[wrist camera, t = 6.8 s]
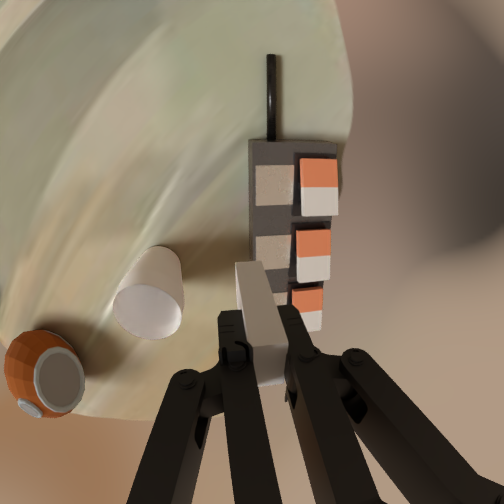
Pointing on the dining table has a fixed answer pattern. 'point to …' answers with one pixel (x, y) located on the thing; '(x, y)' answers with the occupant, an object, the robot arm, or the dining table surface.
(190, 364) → the dining table surface
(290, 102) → the dining table surface
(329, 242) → the rocker
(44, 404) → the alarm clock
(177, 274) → the cup
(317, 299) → the rocker
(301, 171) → the rocker
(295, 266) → the power strip
